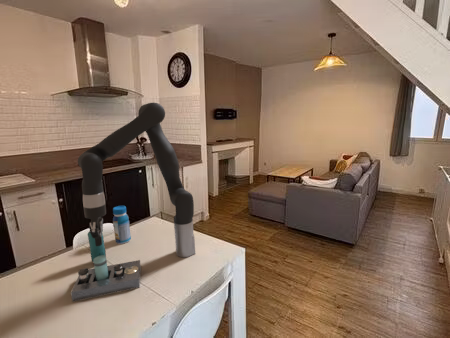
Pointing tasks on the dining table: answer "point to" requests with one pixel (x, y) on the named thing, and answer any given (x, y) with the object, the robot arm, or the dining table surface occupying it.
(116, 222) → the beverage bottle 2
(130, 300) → the dining table surface
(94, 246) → the beverage bottle
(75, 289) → the housing
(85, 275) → the plunger
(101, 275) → the cylinder
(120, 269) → the plunger
